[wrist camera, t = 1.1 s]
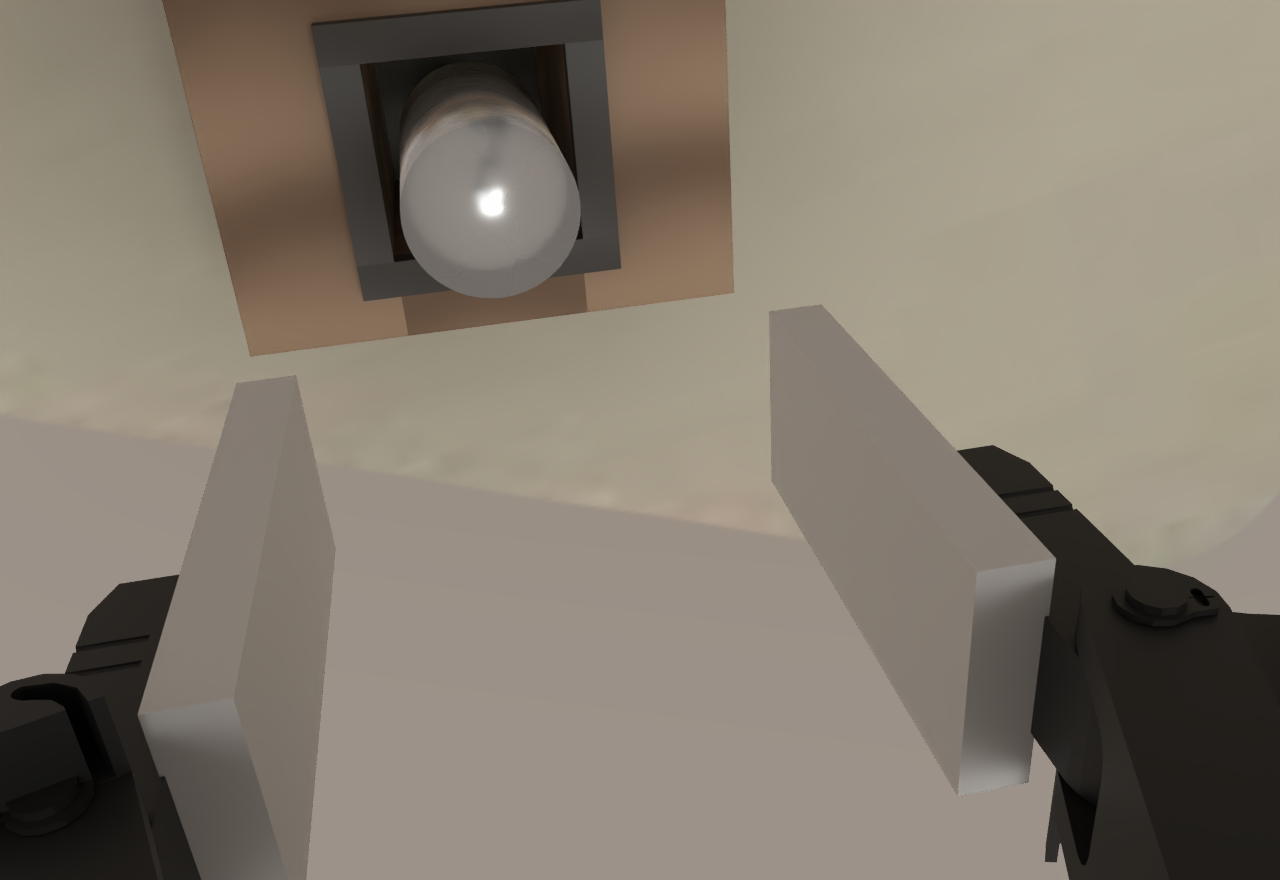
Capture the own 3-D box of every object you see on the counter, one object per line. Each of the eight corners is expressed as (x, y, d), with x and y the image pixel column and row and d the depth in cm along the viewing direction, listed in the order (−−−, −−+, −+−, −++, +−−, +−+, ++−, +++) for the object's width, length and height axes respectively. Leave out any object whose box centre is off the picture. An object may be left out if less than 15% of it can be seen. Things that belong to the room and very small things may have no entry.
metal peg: (388, 68, 31) (385, 132, 24) (534, 54, 32) (572, 112, 25) (411, 211, 33) (416, 308, 26) (548, 195, 34) (588, 286, 27)
